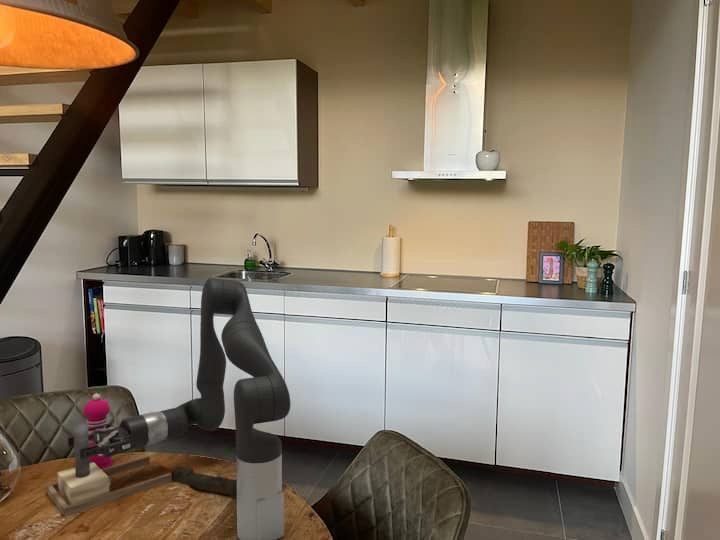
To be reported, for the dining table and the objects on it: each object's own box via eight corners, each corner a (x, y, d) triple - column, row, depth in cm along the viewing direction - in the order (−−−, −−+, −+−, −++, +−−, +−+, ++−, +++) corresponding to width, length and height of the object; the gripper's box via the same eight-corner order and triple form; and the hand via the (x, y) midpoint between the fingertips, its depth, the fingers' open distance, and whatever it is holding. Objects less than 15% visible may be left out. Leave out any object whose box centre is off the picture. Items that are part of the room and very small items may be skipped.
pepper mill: (119, 463, 151) (117, 389, 149) (104, 476, 144) (101, 399, 141) (93, 462, 152) (90, 388, 149) (77, 474, 144) (74, 397, 142)
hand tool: (243, 492, 137) (242, 474, 136) (233, 500, 133) (233, 481, 133) (177, 479, 143) (176, 461, 143) (166, 486, 140) (166, 468, 139)
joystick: (110, 497, 131) (108, 425, 129) (71, 510, 126) (68, 435, 124) (95, 481, 138) (92, 413, 137) (58, 492, 133) (54, 422, 131)
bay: (171, 486, 139) (171, 474, 139) (65, 522, 123) (64, 509, 123) (148, 466, 149) (148, 455, 149) (46, 497, 133) (46, 485, 133)
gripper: (132, 407, 145) (63, 423, 134) (155, 423, 135) (82, 442, 124) (133, 435, 146) (64, 453, 135) (156, 454, 136) (84, 475, 125)
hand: (73, 448), depth 129 cm, fingers open, 8 cm apart
